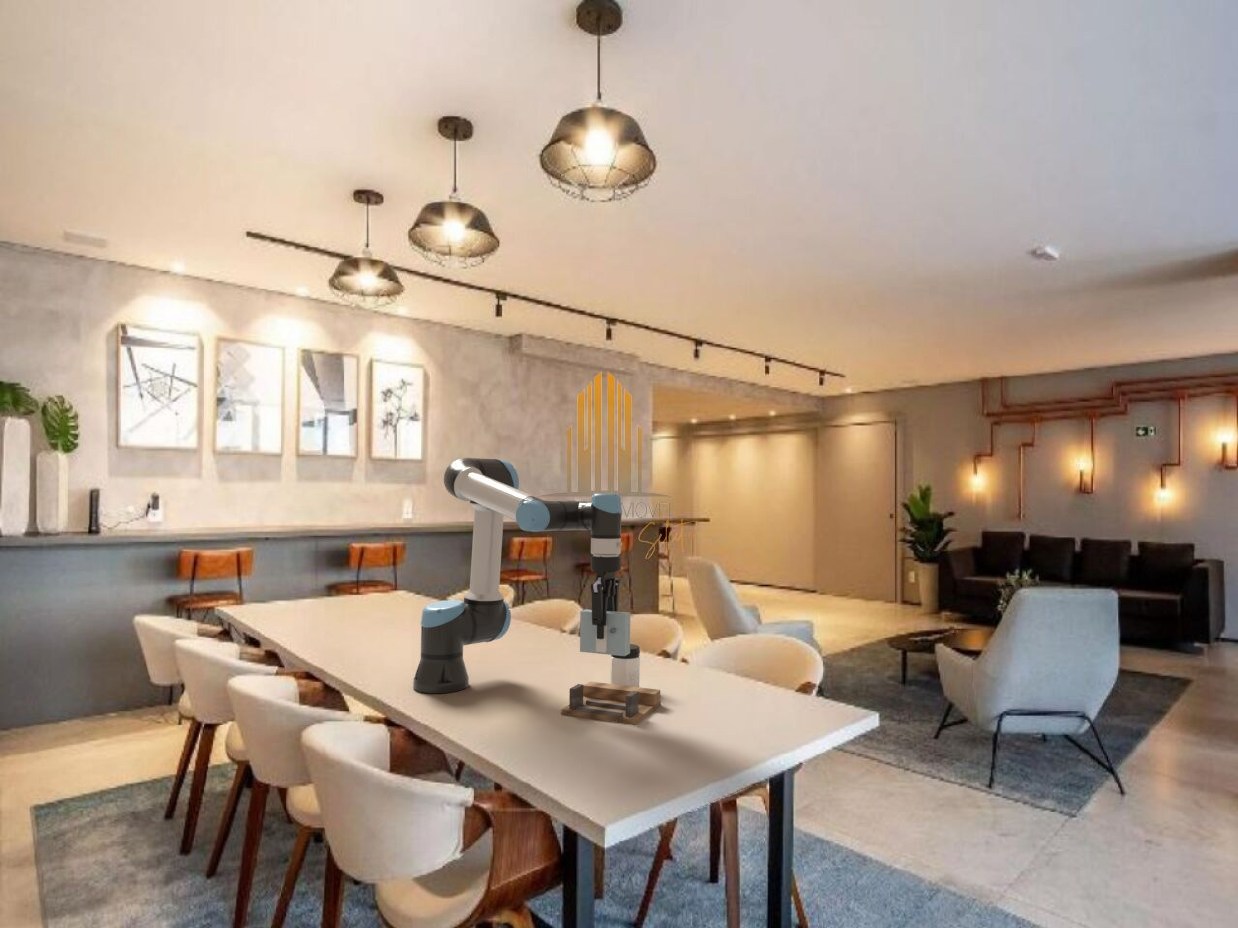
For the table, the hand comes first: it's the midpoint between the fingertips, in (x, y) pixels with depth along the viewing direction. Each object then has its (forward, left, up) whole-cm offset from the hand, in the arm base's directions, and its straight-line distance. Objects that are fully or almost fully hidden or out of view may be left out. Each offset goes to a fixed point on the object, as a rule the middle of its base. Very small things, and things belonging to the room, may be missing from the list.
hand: (604, 649), depth 179 cm
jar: (-4, +25, -16) cm, 30 cm away
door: (0, 0, -1) cm, 1 cm away
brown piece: (0, +6, -16) cm, 17 cm away
